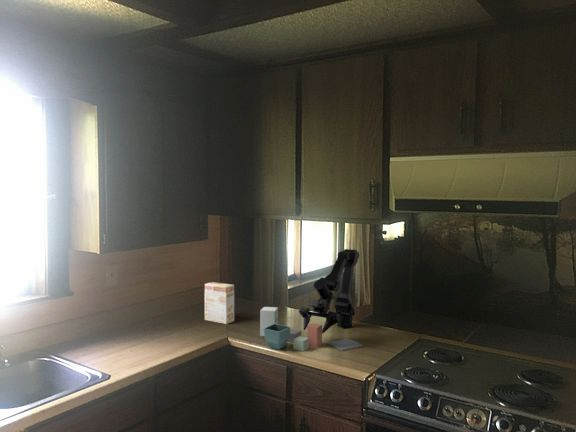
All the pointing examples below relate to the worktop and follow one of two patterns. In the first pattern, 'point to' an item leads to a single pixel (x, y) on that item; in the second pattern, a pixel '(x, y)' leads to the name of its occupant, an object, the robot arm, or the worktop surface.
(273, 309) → the supplement box
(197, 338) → the worktop surface
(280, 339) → the flower pot
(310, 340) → the brick-red block
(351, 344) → the slate mat
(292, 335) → the light gray block
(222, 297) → the coffeecake box
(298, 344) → the sage block
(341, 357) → the worktop surface
